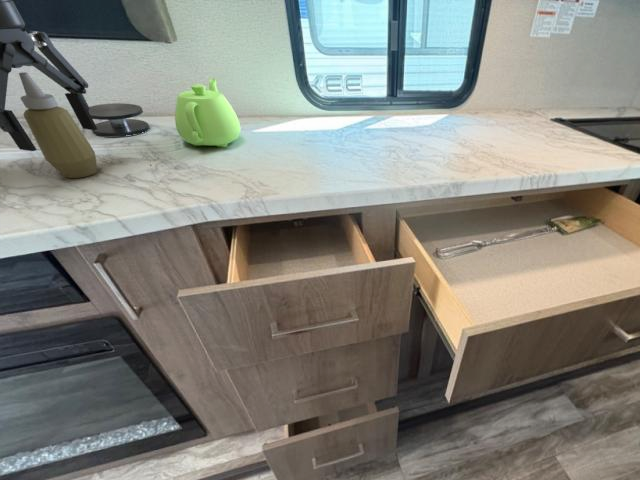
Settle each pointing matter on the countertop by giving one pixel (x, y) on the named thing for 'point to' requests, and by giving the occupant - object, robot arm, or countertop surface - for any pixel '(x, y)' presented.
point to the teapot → (206, 117)
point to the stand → (118, 119)
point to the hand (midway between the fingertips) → (61, 138)
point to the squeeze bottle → (57, 132)
